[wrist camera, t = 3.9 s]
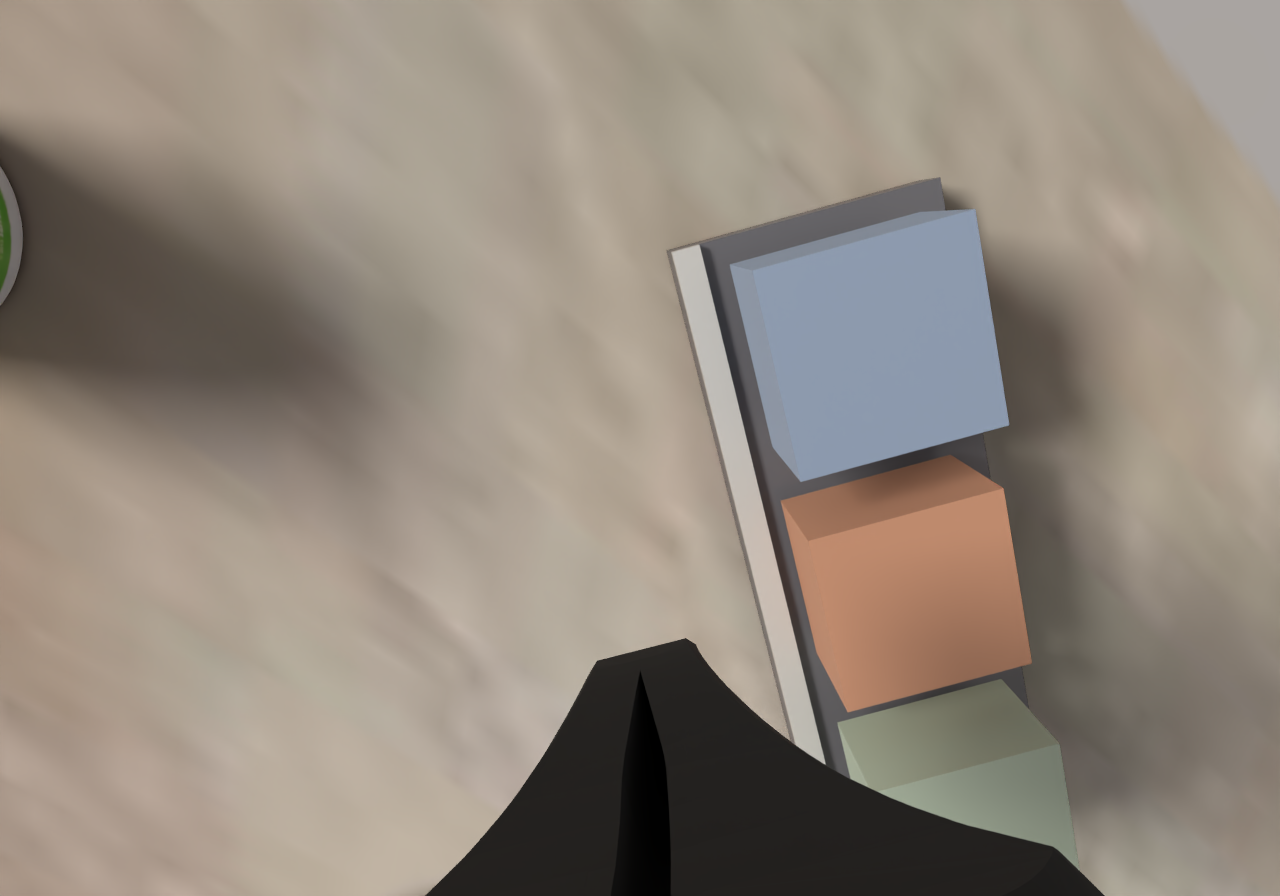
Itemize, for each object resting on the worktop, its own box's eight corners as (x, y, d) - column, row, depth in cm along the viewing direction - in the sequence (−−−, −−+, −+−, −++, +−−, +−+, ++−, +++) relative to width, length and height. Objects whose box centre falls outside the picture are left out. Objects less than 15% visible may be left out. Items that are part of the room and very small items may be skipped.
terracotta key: (978, 609, 20) (1032, 663, 18) (816, 652, 20) (848, 712, 18) (950, 454, 19) (1003, 488, 17) (780, 500, 19) (808, 540, 17)
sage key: (1025, 817, 21) (1083, 897, 19) (869, 859, 21) (906, 944, 19) (1001, 678, 20) (1059, 743, 18) (837, 722, 20) (872, 792, 18)
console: (1020, 765, 23) (1048, 800, 22) (810, 820, 24) (825, 859, 22) (918, 180, 19) (945, 176, 18) (666, 250, 19) (671, 252, 18)
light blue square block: (952, 398, 18) (1009, 425, 16) (772, 447, 18) (801, 481, 16) (920, 211, 17) (975, 208, 15) (729, 264, 17) (752, 270, 15)
